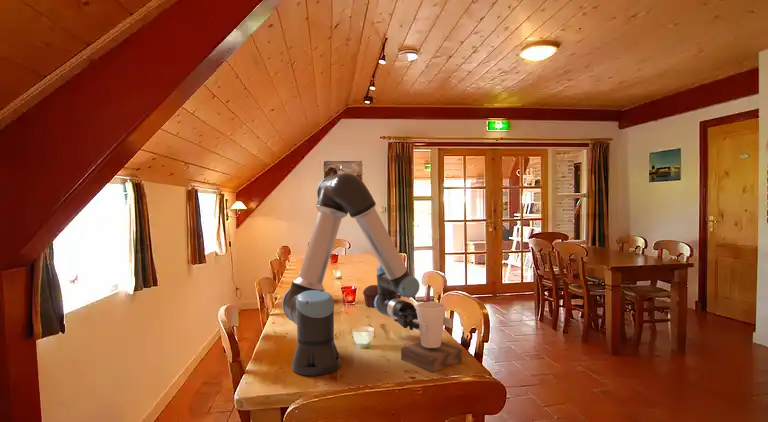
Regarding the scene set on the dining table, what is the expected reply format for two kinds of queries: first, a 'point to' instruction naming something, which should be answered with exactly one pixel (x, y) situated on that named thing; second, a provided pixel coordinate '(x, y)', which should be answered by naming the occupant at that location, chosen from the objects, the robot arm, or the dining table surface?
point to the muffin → (370, 295)
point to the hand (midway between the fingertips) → (439, 326)
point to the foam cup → (431, 322)
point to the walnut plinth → (431, 356)
